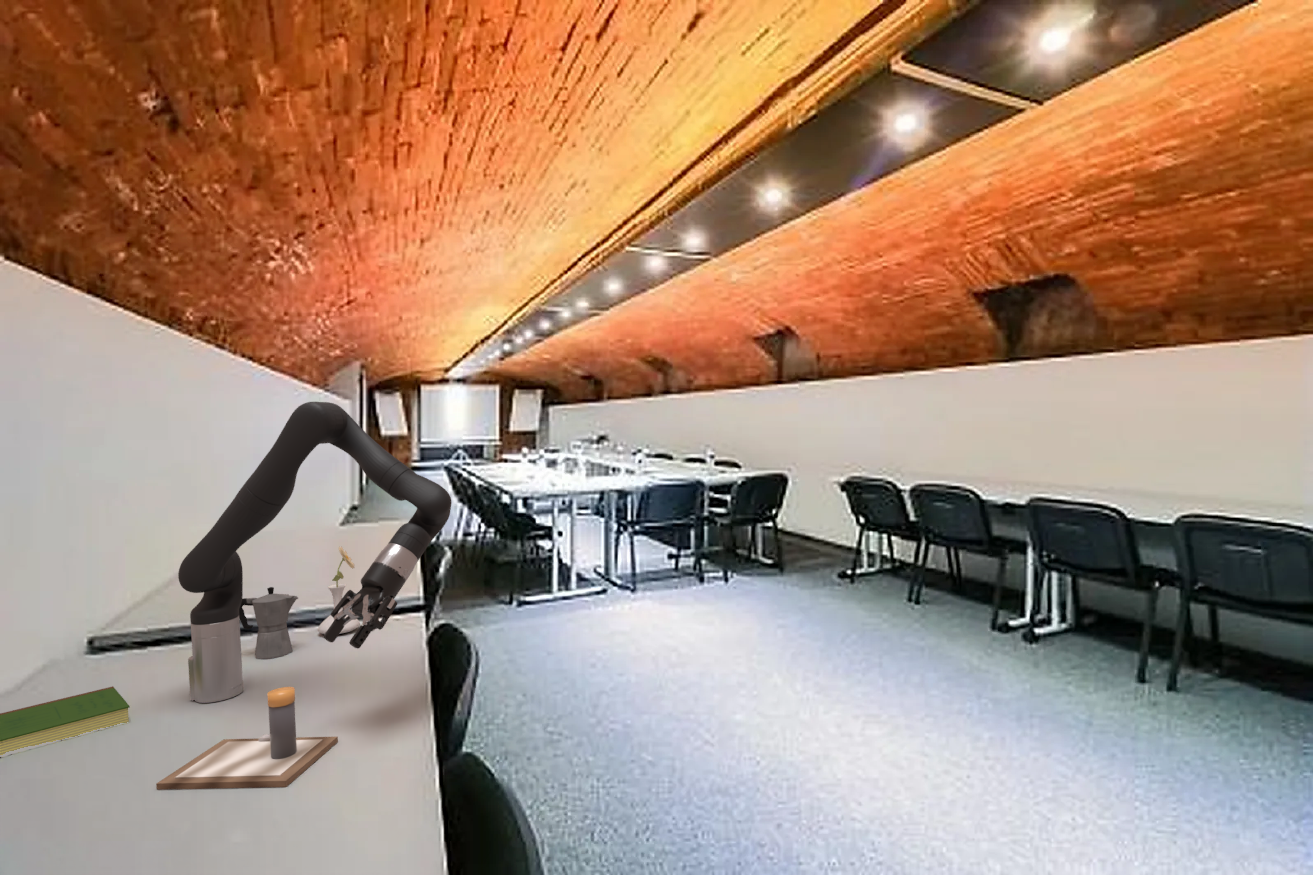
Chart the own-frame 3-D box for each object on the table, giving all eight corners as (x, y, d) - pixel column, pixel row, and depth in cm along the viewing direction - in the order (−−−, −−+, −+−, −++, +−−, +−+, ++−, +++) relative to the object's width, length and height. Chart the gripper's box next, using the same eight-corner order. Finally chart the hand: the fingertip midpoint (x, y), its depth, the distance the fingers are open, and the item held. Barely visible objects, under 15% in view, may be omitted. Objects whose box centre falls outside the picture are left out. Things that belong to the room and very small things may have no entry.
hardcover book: (113, 702, 153) (113, 686, 153) (130, 724, 140) (129, 706, 140) (-46, 743, 135) (-47, 724, 135) (-43, 772, 122) (-45, 751, 122)
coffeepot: (305, 646, 189) (302, 581, 189) (295, 656, 180) (291, 588, 180) (244, 652, 186) (240, 586, 186) (230, 663, 177) (227, 594, 176)
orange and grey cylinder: (264, 759, 118) (261, 695, 118) (279, 748, 122) (277, 687, 122) (288, 759, 117) (285, 695, 117) (302, 748, 122) (299, 686, 122)
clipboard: (156, 789, 112) (155, 778, 112) (223, 744, 127) (223, 735, 127) (286, 787, 110) (285, 775, 110) (337, 741, 126) (337, 732, 126)
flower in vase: (349, 637, 196) (345, 550, 196) (310, 639, 196) (305, 552, 196) (369, 624, 209) (365, 543, 209) (332, 626, 209) (328, 544, 209)
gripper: (356, 558, 140) (305, 628, 131) (400, 562, 133) (348, 638, 123) (380, 578, 145) (332, 648, 135) (424, 584, 137) (376, 658, 127)
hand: (340, 643), depth 129 cm, fingers open, 8 cm apart
